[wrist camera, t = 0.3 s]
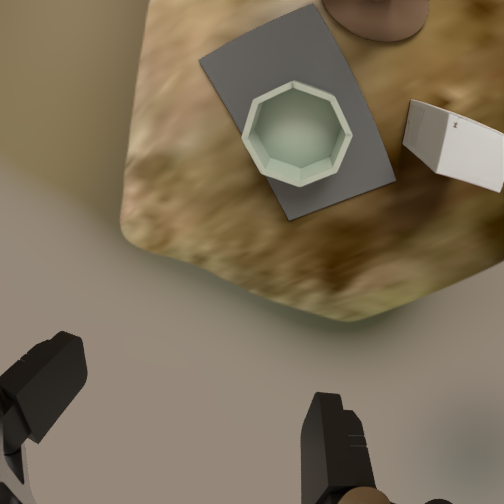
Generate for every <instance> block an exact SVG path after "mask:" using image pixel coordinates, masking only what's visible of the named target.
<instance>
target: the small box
mask: <svg viewBox="0 0 504 504" xmlns="http://www.w3.org/2000/svg"><path fill="white" fill-rule="evenodd" d="M403 145H404V146H405V147H407V148H408V149H409V150H410V151H411V152H412V153H414V154H415V155H416V156H417V157H418V158H419V159H420V160H422V161H423V162H424V163H425V164H426V165H427V166H428V167H429V168H430V169H432V170H433V171H434V172H435V173H436V174H439V175H443V176H446V177H450V178H454V179H457V180H460V181H464V182H467V183H470V184H473V185H477V186H480V187H483V188H486V189H489V190H492V191H495V192H498V193H500V191H501V188H502V185H503V182H504V134H503V133H501V132H499V131H497V130H495V129H492V128H490V127H488V126H486V125H483V124H481V123H479V122H477V121H474V120H472V119H469V118H467V117H464V116H461V115H459V114H456V113H453V112H450V111H447V110H445V109H442V108H439V107H436V106H433V105H430V104H427V103H423V102H420V101H416V100H413V99H411V102H410V108H409V113H408V119H407V124H406V129H405V134H404V139H403Z"/></svg>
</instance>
